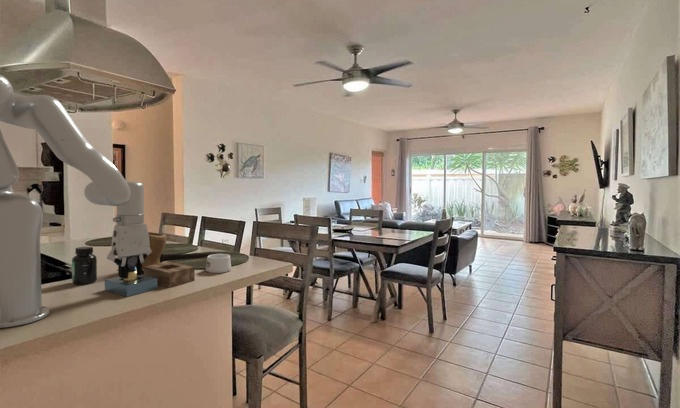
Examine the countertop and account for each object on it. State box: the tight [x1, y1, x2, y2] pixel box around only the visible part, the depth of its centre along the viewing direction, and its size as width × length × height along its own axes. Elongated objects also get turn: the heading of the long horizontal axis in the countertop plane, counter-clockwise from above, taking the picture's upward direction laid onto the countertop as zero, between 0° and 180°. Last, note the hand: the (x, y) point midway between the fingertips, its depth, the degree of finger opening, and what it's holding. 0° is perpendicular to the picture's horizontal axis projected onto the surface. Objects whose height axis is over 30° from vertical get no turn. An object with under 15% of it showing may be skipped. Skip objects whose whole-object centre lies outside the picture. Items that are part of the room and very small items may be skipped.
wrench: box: [160, 252, 218, 263], centre depth 156 cm, size 5×5×30 cm
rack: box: [143, 261, 196, 288], centre depth 126 cm, size 10×14×5 cm
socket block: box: [104, 273, 158, 298], centre depth 115 cm, size 10×12×4 cm
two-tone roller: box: [123, 255, 138, 282], centre depth 114 cm, size 4×4×12 cm
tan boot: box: [142, 231, 167, 272], centre depth 140 cm, size 15×12×15 cm
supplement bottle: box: [71, 246, 98, 286], centre depth 120 cm, size 7×7×12 cm
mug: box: [205, 253, 232, 274], centre depth 142 cm, size 12×10×6 cm
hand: (130, 275), depth 114 cm, fingers closed on two-tone roller, 4 cm apart
